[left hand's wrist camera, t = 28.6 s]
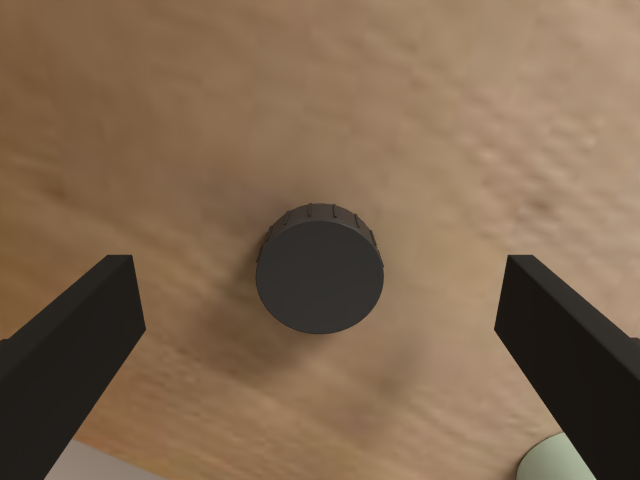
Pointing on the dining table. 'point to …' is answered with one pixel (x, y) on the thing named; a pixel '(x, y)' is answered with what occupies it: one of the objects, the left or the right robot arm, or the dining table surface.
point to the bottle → (554, 462)
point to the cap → (319, 269)
